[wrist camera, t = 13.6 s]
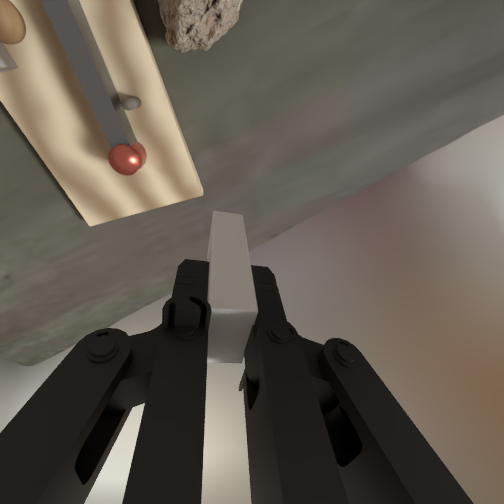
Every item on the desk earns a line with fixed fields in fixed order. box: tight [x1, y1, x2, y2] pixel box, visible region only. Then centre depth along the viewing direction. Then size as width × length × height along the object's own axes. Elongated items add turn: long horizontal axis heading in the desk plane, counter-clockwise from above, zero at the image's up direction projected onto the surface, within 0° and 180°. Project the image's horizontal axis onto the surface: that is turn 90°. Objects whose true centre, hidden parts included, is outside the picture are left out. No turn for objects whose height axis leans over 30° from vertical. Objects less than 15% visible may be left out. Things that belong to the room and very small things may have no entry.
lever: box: [40, 0, 147, 176], centre depth 29 cm, size 4×18×4 cm, turn 10°
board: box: [0, 0, 203, 226], centre depth 30 cm, size 19×30×7 cm, turn 14°
